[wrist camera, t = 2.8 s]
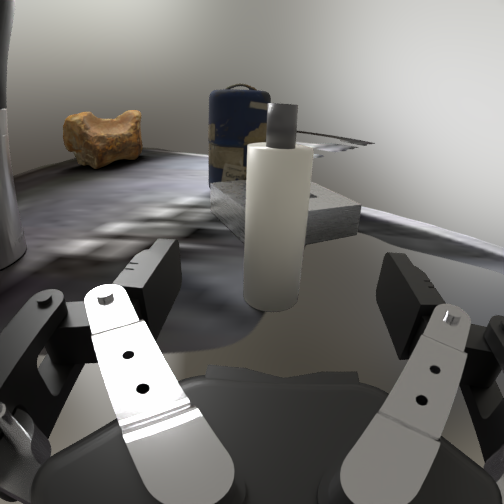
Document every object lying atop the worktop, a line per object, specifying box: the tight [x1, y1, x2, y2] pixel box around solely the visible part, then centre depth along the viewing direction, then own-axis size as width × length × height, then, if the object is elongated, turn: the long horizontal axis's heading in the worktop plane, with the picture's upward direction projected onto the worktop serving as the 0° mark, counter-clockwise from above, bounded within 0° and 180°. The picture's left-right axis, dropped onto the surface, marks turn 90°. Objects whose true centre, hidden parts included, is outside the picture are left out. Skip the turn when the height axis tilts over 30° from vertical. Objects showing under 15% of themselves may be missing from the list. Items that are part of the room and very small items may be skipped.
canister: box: [208, 84, 271, 187], centre depth 48 cm, size 10×10×18 cm
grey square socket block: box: [210, 180, 361, 245], centre depth 40 cm, size 14×14×4 cm
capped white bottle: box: [243, 103, 314, 312], centre depth 23 cm, size 4×4×15 cm
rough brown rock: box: [63, 110, 142, 169], centre depth 73 cm, size 23×17×15 cm
